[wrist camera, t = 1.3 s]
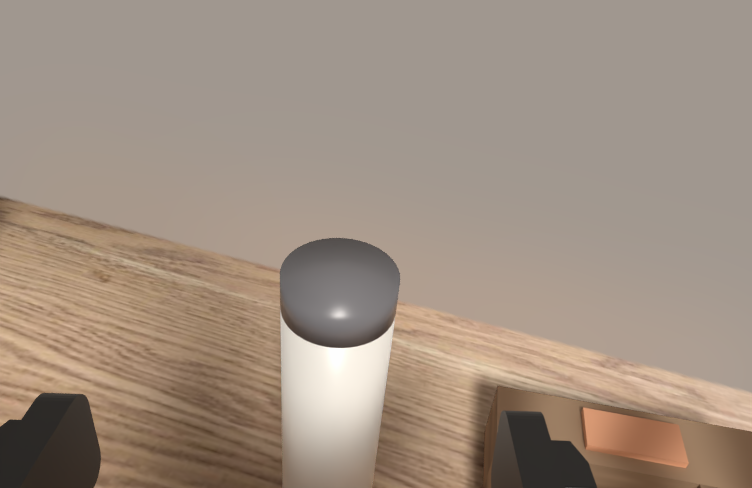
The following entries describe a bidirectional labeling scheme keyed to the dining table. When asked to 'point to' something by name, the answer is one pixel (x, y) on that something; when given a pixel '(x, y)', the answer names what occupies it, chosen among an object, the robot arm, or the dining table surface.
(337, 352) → the plug
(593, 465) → the socket block
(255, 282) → the dining table surface
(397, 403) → the dining table surface
